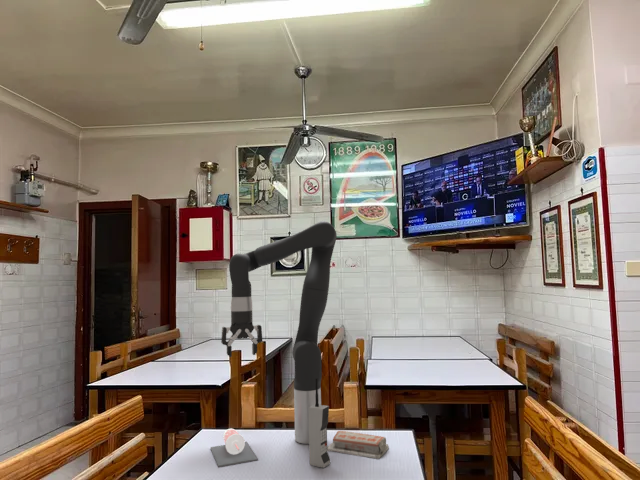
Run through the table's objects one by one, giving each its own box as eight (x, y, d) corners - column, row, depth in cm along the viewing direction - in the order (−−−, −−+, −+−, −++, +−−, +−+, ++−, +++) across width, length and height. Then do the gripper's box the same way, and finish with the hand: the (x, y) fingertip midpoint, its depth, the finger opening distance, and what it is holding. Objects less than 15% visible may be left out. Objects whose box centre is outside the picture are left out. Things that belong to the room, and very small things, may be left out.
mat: (246, 442, 152) (246, 441, 152) (258, 460, 138) (258, 458, 138) (210, 448, 148) (210, 447, 148) (218, 467, 133) (218, 465, 133)
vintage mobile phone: (324, 468, 130) (321, 380, 132) (309, 465, 133) (307, 378, 135) (330, 463, 133) (328, 377, 136) (316, 460, 136) (314, 376, 138)
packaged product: (389, 433, 145) (378, 444, 136) (389, 449, 145) (379, 461, 136) (338, 426, 153) (325, 436, 144) (338, 441, 153) (325, 452, 144)
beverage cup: (219, 444, 148) (226, 460, 135) (222, 425, 149) (230, 438, 136) (237, 445, 150) (246, 460, 138) (240, 426, 151) (250, 439, 138)
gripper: (223, 311, 156) (223, 359, 154) (263, 309, 161) (264, 355, 159) (219, 310, 162) (220, 355, 161) (258, 308, 168) (259, 352, 166)
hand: (242, 355), depth 160 cm, fingers open, 8 cm apart
